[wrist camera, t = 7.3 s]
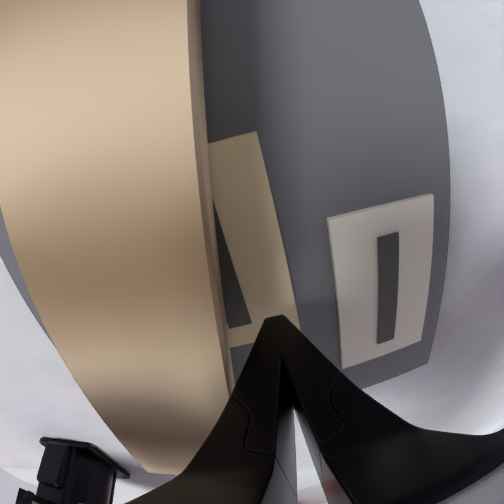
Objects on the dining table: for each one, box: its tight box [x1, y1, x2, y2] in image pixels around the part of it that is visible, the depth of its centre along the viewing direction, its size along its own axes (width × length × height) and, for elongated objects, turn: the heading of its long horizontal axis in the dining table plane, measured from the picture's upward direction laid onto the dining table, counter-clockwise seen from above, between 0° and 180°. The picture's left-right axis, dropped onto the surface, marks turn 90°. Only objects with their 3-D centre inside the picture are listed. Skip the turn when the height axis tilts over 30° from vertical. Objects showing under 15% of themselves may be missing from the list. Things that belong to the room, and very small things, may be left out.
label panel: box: [0, 0, 450, 408], centre depth 8 cm, size 23×17×1 cm
